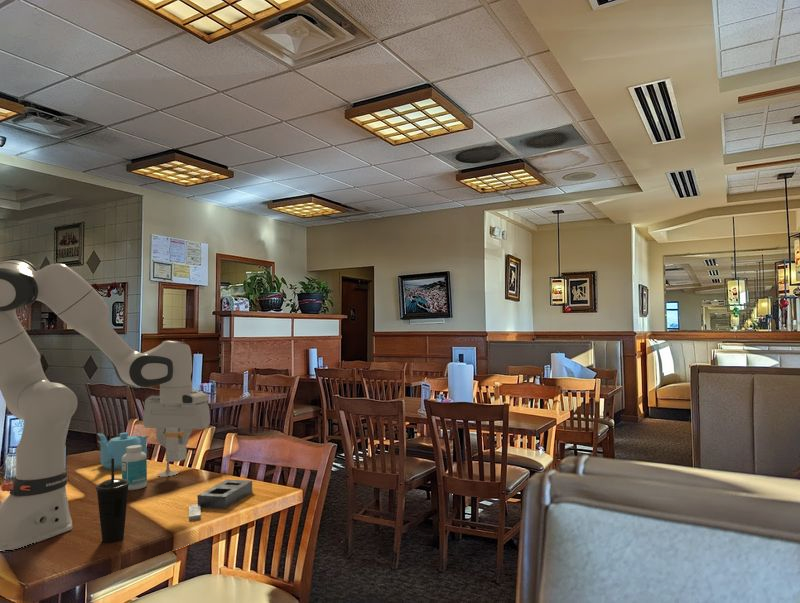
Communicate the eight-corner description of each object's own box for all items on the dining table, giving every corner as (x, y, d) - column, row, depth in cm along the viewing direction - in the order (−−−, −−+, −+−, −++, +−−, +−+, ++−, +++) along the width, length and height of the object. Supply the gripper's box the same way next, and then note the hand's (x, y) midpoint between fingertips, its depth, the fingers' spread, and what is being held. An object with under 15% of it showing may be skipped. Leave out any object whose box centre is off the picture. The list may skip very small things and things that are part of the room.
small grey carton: (178, 461, 160) (178, 426, 160) (165, 461, 161) (165, 426, 161) (186, 458, 164) (186, 424, 164) (174, 457, 165) (174, 423, 165)
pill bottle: (151, 484, 187) (151, 443, 187) (138, 491, 179) (138, 449, 180) (130, 484, 187) (130, 443, 188) (117, 491, 180) (116, 449, 180)
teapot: (97, 474, 201) (97, 440, 201) (97, 463, 217) (97, 431, 217) (149, 467, 209) (149, 434, 209) (145, 457, 225) (145, 426, 226)
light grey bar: (200, 520, 153) (200, 514, 153) (189, 522, 151) (189, 516, 152) (200, 509, 162) (200, 503, 162) (189, 510, 161) (189, 505, 161)
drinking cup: (135, 532, 144) (134, 454, 144) (121, 544, 136) (120, 462, 137) (105, 533, 143) (104, 455, 144) (89, 545, 136) (89, 463, 136)
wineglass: (157, 472, 201) (157, 414, 202) (180, 470, 203) (179, 412, 204) (155, 478, 194) (154, 417, 195) (178, 475, 196) (177, 416, 197)
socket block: (225, 509, 160) (225, 496, 160) (197, 507, 162) (197, 495, 162) (252, 491, 176) (252, 480, 176) (226, 490, 178) (226, 479, 178)
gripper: (138, 397, 162) (137, 444, 161) (200, 398, 157) (200, 447, 157) (152, 394, 168) (152, 440, 168) (213, 395, 164) (213, 442, 163)
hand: (176, 443), depth 162 cm, fingers closed on small grey carton, 4 cm apart
